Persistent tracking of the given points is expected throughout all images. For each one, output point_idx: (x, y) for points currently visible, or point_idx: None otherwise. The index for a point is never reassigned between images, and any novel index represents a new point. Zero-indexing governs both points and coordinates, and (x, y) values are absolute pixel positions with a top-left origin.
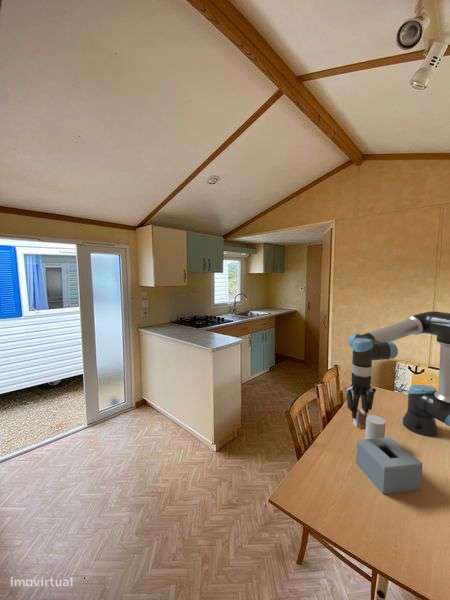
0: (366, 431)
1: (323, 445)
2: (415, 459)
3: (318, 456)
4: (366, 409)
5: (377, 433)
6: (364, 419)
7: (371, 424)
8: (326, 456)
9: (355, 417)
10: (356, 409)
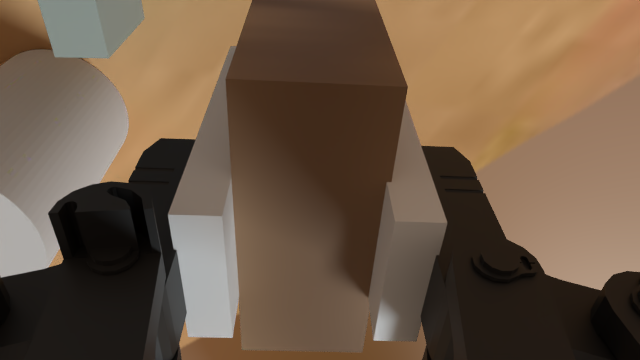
0: (97, 172)
1: (469, 133)
2: None
3: (596, 33)
4: (107, 282)
5: (12, 113)
6: (283, 46)
7: (30, 191)
8: (537, 24)
9: (426, 159)
10: (492, 310)
